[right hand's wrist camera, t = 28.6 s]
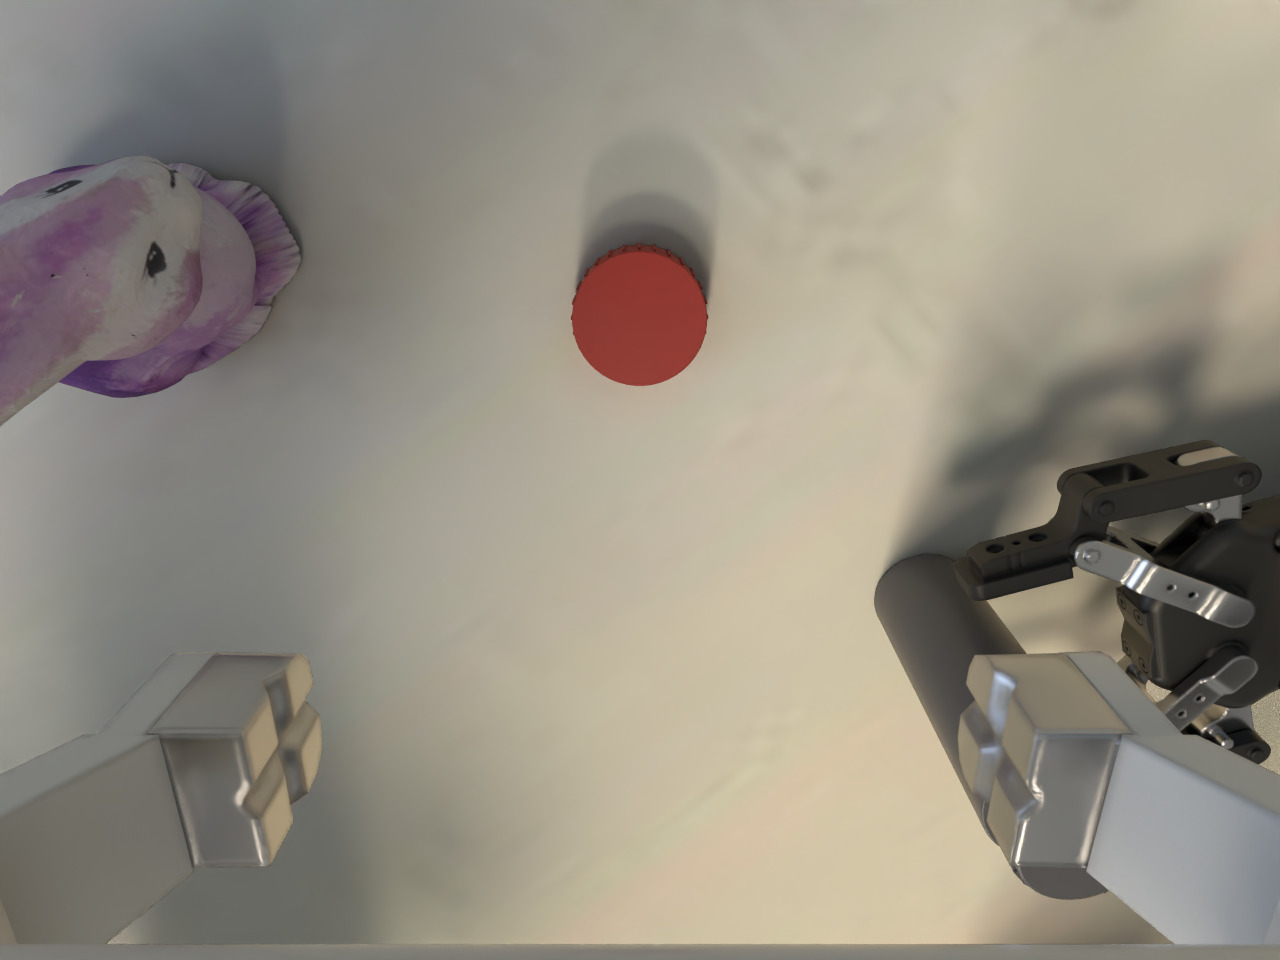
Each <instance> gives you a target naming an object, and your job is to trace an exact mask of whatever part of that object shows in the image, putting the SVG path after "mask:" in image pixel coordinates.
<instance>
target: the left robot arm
mask: <svg viewBox="0 0 1280 960" xmlns="http://www.w3.org/2000/svg"><path fill="white" fill-rule="evenodd" d="M1261 476H1262V473H1261V470H1260V468H1259V467H1258V466H1257V465H1256V464H1254V463H1252V462H1250V461H1248V460H1246V459H1244V458H1242V457H1240V456H1238V455H1237V454H1235V453H1233V452H1231V451H1229V450H1227V449H1225V448H1223V447H1221V446H1219V445H1218V444H1216V443H1214V442H1212V441H1209V440H1202V441H1197V442H1192V443H1188V444H1183V445H1178V446H1174V447H1169V448H1165V449H1160V450H1155V451H1151V452H1146V453H1141V454H1137V455H1132V456H1128V457H1123V458H1118V459H1114V460H1109V461H1104V462H1100V463H1095V464H1091V465H1086V466H1081V467H1077V468H1072V469H1069V470H1067V471H1065V472H1064V473H1063V474H1062V475H1061V476H1060V477H1059V479H1058V482H1057V489H1058V491H1059V493H1060V494H1061V499H1060V503H1059V507H1058V510H1057V513H1056V515H1055V516H1054V517H1053V518H1052V519H1051V520H1050V521H1049V522H1048V523H1047V524H1045V525H1043V526H1040V527H1037V528H1033V529H1029V530H1025V531H1022V532H1018V533H1014V534H1010V535H1006V536H1005V537H1004V536H1003V537H999V538H995V539H991V540H988V541H984V542H980V543H978V544H976V545H975V546H973V547H972V548H970V549H969V550H967V554H968V556H967V557H963V558H960V559H958V560H956V561H955V562H954V569H955V574H956V579H957V582H958V583H959V585H960V586H961V587H962V589H963V590H964V592H965V593H966V594H967V596H968V597H969V598H970V599H972V600H975V601H985V600H989V599H993V598H997V597H1001V596H1005V595H1009V594H1012V593H1016V592H1020V591H1024V590H1028V589H1032V588H1036V587H1040V586H1044V585H1048V584H1051V583H1055V582H1059V581H1063V580H1067V579H1071V578H1073V571H1072V567H1076V566H1078V567H1079V568H1080V569H1082V570H1085V571H1088V572H1091V573H1094V574H1097V575H1099V576H1102V577H1105V578H1108V579H1111V580H1114V581H1117V582H1119V583H1122V584H1123V586H1121V587H1117V588H1116V595H1117V604H1118V606H1119V608H1120V610H1121V612H1122V614H1123V616H1124V624H1123V629H1122V634H1121V640H1122V649H1123V652H1124V653H1125V654H1126V655H1125V656H1124V657H1123V658H1122V659H1121V660H1120V661H1119V662H1118V663H1117V664H1118V665H1119V666H1120V667H1121V669H1122V670H1123V671H1124V672H1125V673H1126V674H1127V675H1128V676H1129V677H1130V678H1131V679H1132V680H1133V682H1134V683H1135V684H1136V685H1137V686H1138V687H1139V688H1140V689H1141V690H1142V691H1143V692H1144V693H1145V694H1146V696H1147V697H1148V698H1149V699H1150V700H1151V701H1152V702H1153V703H1154V704H1155V705H1156V706H1157V707H1158V709H1159V710H1160V711H1161V712H1162V713H1163V714H1164V715H1165V716H1166V717H1167V718H1168V719H1169V720H1170V721H1171V723H1172V724H1173V725H1174V726H1175V727H1176V728H1177V729H1178V730H1179V731H1180V732H1181V733H1182V734H1183V735H1198V736H1200V737H1202V738H1204V739H1206V740H1208V741H1210V742H1212V743H1214V744H1216V745H1219V746H1221V747H1223V748H1225V749H1227V750H1229V751H1231V752H1233V753H1235V754H1237V755H1239V756H1241V757H1244V758H1246V759H1248V760H1250V761H1252V762H1254V763H1256V764H1260V763H1262V762H1264V761H1265V760H1266V759H1267V758H1268V757H1269V755H1270V752H1271V749H1270V746H1269V745H1268V744H1267V743H1266V742H1265V741H1264V740H1263V739H1262V738H1261V737H1260V736H1259V735H1258V733H1257V732H1256V731H1255V730H1254V726H1253V718H1252V711H1251V705H1252V704H1254V703H1256V702H1257V701H1258V700H1260V699H1261V698H1263V697H1264V696H1266V695H1268V694H1270V693H1272V692H1274V691H1276V690H1278V689H1280V495H1276V496H1272V497H1269V498H1265V499H1261V500H1257V501H1253V502H1250V503H1247V504H1245V505H1243V506H1242V494H1246V493H1248V492H1250V491H1252V490H1253V489H1255V488H1256V487H1257V485H1258V484H1259V482H1260V480H1261ZM1180 507H1185V508H1187V509H1188V510H1190V511H1192V512H1197V513H1195V514H1193V515H1192V516H1191V517H1189V518H1188V519H1187V520H1186V521H1185V522H1184V523H1183V524H1181V525H1180V526H1179V527H1178V528H1177V529H1176V530H1175V531H1174V532H1173V533H1172V534H1171V535H1169V536H1168V537H1167V538H1166V539H1165V540H1164V541H1163V542H1162V543H1161V544H1158V543H1155V542H1152V541H1149V540H1147V539H1144V538H1141V537H1138V536H1136V535H1133V534H1130V533H1127V532H1124V531H1122V530H1119V529H1116V528H1113V527H1110V526H1108V525H1109V522H1113V521H1118V520H1123V519H1127V518H1132V517H1137V516H1142V515H1147V514H1151V513H1156V512H1161V511H1166V510H1170V509H1175V508H1180ZM1148 679H1149V680H1150V681H1151V682H1152V683H1154V684H1155V685H1157V686H1159V687H1161V688H1164V689H1167V690H1170V691H1172V692H1171V693H1170V694H1168V695H1167V696H1166V697H1165V698H1164V699H1163V700H1161V701H1159V702H1156V701H1155V700H1154V699H1153V698H1152V697H1151V696H1150V695H1149V694H1148V692H1147V691H1146V682H1147V681H1148Z"/></svg>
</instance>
